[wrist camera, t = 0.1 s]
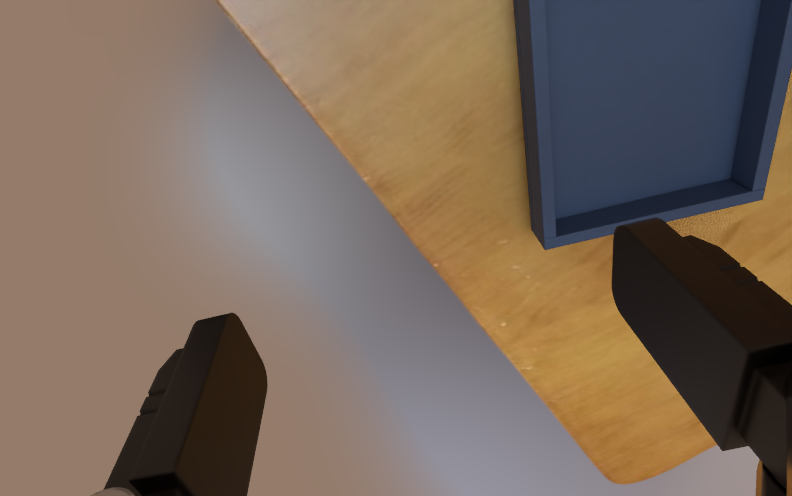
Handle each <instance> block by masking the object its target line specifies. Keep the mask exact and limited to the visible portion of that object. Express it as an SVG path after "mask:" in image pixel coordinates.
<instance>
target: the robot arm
mask: <svg viewBox="0 0 792 496" xmlns="http://www.w3.org/2000/svg"><path fill="white" fill-rule="evenodd" d="M612 292H613V297H614V300H615V303H616V306H617V308H618V310H619V312H620V314H621V315H622V317H623V318H624V319H625V321H626V322H627V323H628V325H629V326H630V327H631V329H632V330H633V331H634V333H635V334H636V335H637V337H638V338H639V339H640V341H641V342H642V344H643V345H644V346H645V348H646V349H647V350H648V352H649V353H650V354H651V356H652V357H653V358H654V360H655V361H656V362H657V364H658V365H659V366H660V368H661V369H662V370H663V372H664V373H665V374H666V376H667V377H668V379H669V380H670V381H671V383H672V384H673V385H674V387H675V388H676V389H677V391H678V392H679V393H680V395H681V396H682V397H683V399H684V400H685V401H686V403H687V404H688V405H689V407H690V408H691V409H692V411H693V412H694V414H695V415H696V416H697V418H698V419H699V420H700V422H701V423H702V424H703V426H704V427H705V428H706V430H707V431H708V432H709V434H710V435H711V436H712V438H713V439H714V440H715V442H716V443H717V444H718V446H719V447H720V449H721V450H722V451H725V450H730V449H735V448H740V447H745V446H750V448H751V449H752V450H753V451H754V453H755V454H756V455H757V456H758V457H759V459H760V461H759V463H758V467H757V479H756V496H792V305H791V304H790V303H788V302H787V301H786V300H785V299H783V298H782V297H781V296H780V295H778V294H777V293H776V292H775V291H773V290H772V289H771V288H770V287H768V286H767V285H766V284H765V283H764V282H762V281H758V280H757V277H756V276H755V275H754V274H752V273H751V272H750V271H749V270H747V269H746V268H745V267H740V263H739V262H737V261H736V260H735V259H734V258H732V257H731V256H730V255H729V254H727V253H726V252H725V251H724V250H722V249H721V248H720V247H718V246H716V245H713V244H711V243H709V242H706V241H704V240H701V239H699V238H696V237H694V236H692V235H690V236H685V237H682V236H680V235H679V234H678V233H677V232H676V231H675V230H673V229H672V228H671V227H670V226H669V225H668V224H667V223H665V222H664V221H663V220H662V219H660V218H656V217H655V218H651V219H646V220H642V221H637V222H633V223H629V224H624V225H620V226H617V227H616V229H615V231H614V239H613V266H612ZM148 393H149V397H146V399H145V401H144V403H143V405H142V407H141V410H140V413H141V414H140V416H137V418H136V420H135V423H134V425H133V427H132V429H131V432H130V433H129V436H128V438H127V440H126V442H125V444H124V447H123V449H122V451H121V453H120V455H119V457H118V460H117V462H116V464H115V466H114V468H113V470H112V473H111V475H110V477H109V479H108V481H107V483H106V486H105V488H104V490H102V491H100V492H97V493H95V494H93V495H91V496H247V492H248V487H249V482H250V476H251V471H252V466H253V461H254V455H255V450H256V445H257V440H258V434H259V429H260V424H261V419H262V414H263V409H264V403H265V398H266V393H267V375H266V370H265V367H264V364H263V362H262V360H261V358H260V356H259V354H258V352H257V350H256V348H255V346H254V345H253V343H252V341H251V339H250V337H249V335H248V333H247V331H246V330H245V328H244V326H243V324H242V322H241V320H240V319H239V317H238V316H237V315H236V314H234V313H229V314H224V315H220V316H216V317H212V318H207V319H203V320H198V321H197V322H195V324H194V325H193V327H192V330H191V332H190V335H189V337H188V339H187V342H186V344H185V346H184V348H183V349H178V350H176V351H175V352H174V353H173V355H172V356H171V357H170V358H169V359H168V360H167V362H166V363H165V364H164V365H163V366H162V367H161V368H160V370H159V371H158V373H157V375H156V377H155V379H154V381H153V383H152V386H151V388H150V390H149V392H148Z"/></svg>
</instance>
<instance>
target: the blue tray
mask: <svg viewBox="0 0 792 496" xmlns="http://www.w3.org/2000/svg"><path fill="white" fill-rule="evenodd" d="M513 1H514V14H515V26H516V39H517V52H518V64H519V77H520V89H521V102H522V114H523V127H524V140H525V152H526V165H527V177H528V190H529V202H530V215H531V228H532V231H533V232H534V234H535V236H536V237H537V239H538V240H539V242H540V243H541V245H542V246H543V248H544V249H545V250H547V249H551V248H556V247H560V246H564V245H569V244H573V243H577V242H582V241H586V240H590V239H595V238H599V237H603V236H607V235H612V234H614V231H615V229H616V227H617V226H620V225H624V224H629V223H633V222H637V221H642V220H646V219H651V218H655V217H656V218H660V219H662V220H663V221H664V222H668V221H672V220H677V219H681V218H685V217H690V216H694V215H698V214H703V213H707V212H711V211H716V210H720V209H724V208H729V207H733V206H737V205H741V204H746V203H750V202H754V201H759V200H762V199H763V196H764V191H765V186H766V182H767V177H768V173H769V168H770V164H771V159H772V155H773V150H774V146H775V141H776V137H777V132H778V128H779V123H780V119H781V114H782V110H783V105H784V101H785V96H786V92H787V87H788V83H789V78H790V74H791V69H792V0H513Z"/></svg>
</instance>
